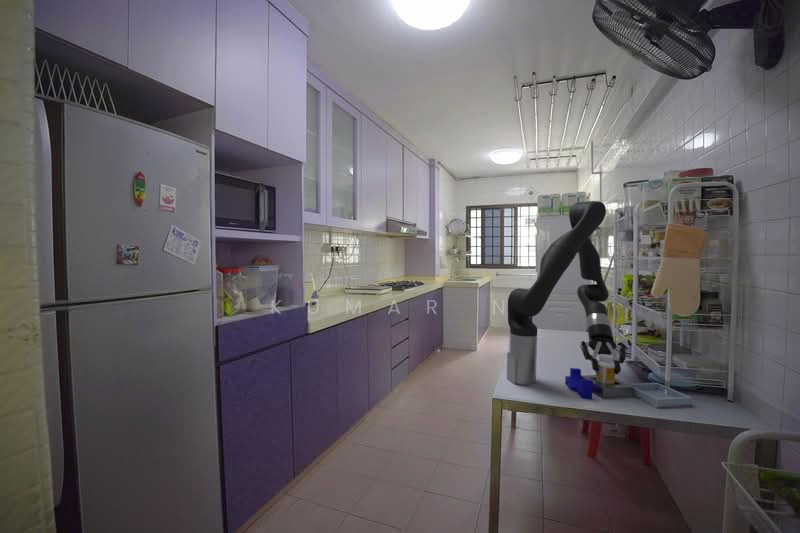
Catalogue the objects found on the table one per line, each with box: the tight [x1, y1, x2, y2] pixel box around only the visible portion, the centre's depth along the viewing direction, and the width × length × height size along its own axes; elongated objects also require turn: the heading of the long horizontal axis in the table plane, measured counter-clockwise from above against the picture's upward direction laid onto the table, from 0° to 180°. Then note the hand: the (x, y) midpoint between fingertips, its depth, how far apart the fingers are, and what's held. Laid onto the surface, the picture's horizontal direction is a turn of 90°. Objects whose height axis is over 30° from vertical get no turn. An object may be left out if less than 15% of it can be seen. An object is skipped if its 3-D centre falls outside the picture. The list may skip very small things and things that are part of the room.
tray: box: [628, 382, 693, 409], centre depth 108 cm, size 12×12×3 cm
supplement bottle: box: [595, 354, 616, 385], centre depth 113 cm, size 5×5×10 cm
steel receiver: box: [581, 374, 635, 400], centre depth 113 cm, size 11×11×4 cm
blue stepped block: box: [564, 367, 593, 400], centre depth 113 cm, size 12×4×6 cm, turn 170°
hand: (607, 371), depth 112 cm, fingers closed on supplement bottle, 5 cm apart
